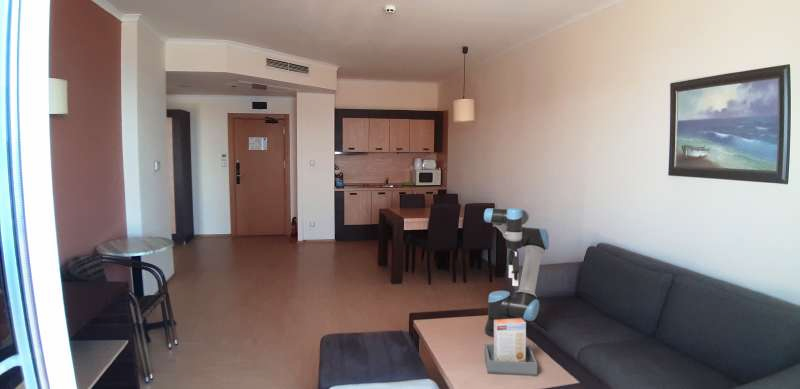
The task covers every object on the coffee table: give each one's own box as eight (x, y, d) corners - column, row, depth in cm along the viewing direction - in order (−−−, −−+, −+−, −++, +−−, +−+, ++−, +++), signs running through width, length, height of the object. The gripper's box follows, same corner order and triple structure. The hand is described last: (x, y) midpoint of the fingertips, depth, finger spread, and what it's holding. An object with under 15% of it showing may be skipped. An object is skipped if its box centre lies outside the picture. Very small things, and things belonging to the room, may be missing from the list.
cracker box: (521, 359, 214) (522, 317, 212) (525, 365, 208) (526, 322, 206) (492, 360, 213) (493, 318, 210) (496, 366, 207) (497, 323, 204)
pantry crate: (484, 355, 220) (484, 344, 219) (529, 357, 218) (530, 345, 217) (487, 373, 202) (487, 361, 202) (536, 376, 200) (537, 363, 199)
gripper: (503, 234, 231) (502, 274, 233) (509, 244, 206) (508, 289, 208) (517, 234, 230) (517, 274, 232) (526, 245, 205) (525, 289, 207)
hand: (513, 281), depth 220 cm, fingers open, 13 cm apart
